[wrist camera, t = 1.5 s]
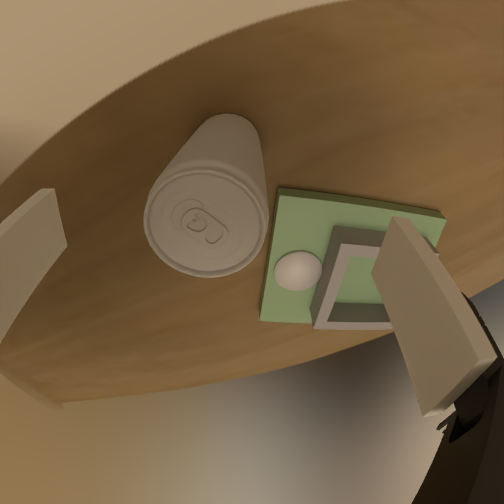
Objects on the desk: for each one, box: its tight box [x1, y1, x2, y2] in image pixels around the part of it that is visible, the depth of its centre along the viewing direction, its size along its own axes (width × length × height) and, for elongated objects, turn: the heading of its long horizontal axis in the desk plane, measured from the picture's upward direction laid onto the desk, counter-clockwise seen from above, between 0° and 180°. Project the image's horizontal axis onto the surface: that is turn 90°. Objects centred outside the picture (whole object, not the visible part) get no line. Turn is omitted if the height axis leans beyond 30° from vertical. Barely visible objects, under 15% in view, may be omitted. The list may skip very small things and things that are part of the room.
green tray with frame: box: [259, 187, 447, 330], centre depth 25 cm, size 15×13×4 cm
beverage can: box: [143, 114, 269, 278], centre depth 16 cm, size 5×5×12 cm
